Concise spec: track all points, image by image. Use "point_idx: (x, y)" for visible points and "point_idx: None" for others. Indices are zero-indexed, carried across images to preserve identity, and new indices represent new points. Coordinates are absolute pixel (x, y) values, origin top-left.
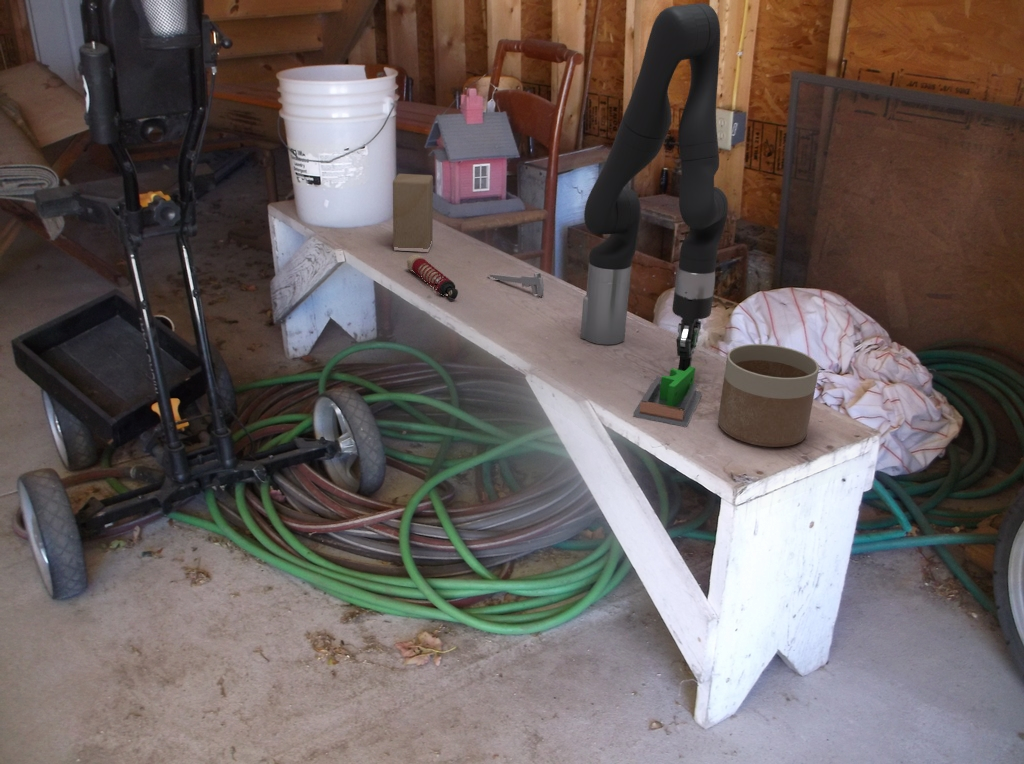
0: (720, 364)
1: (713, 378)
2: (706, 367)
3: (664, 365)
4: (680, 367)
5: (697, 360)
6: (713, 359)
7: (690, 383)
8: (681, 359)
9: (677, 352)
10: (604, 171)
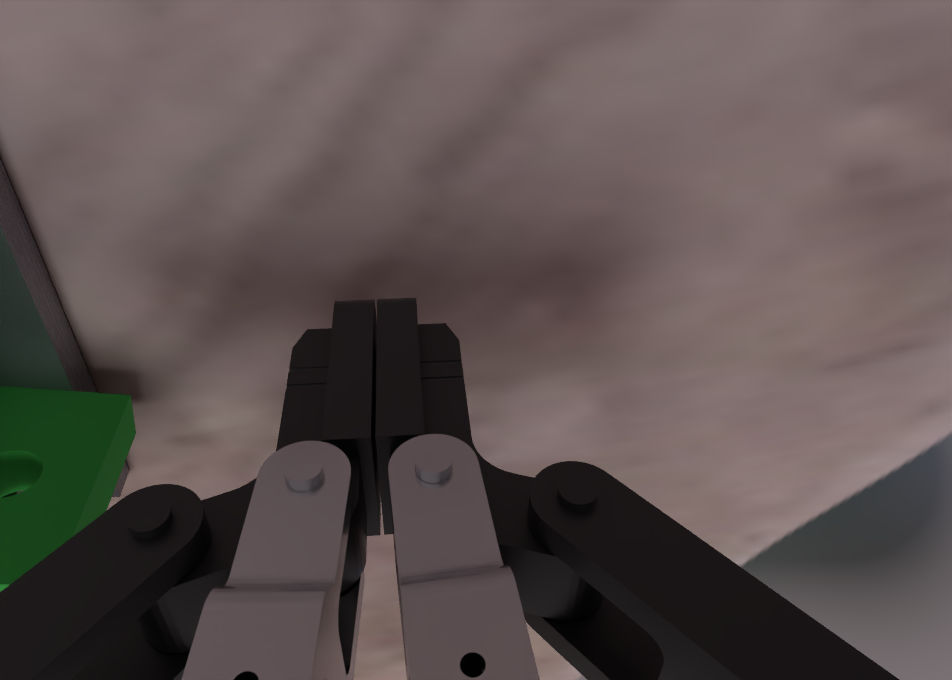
0: (828, 446)
1: (526, 463)
2: (742, 384)
3: (696, 27)
4: (291, 368)
5: (896, 297)
6: (930, 391)
7: (14, 489)
8: (279, 444)
9: (36, 567)
10: None
